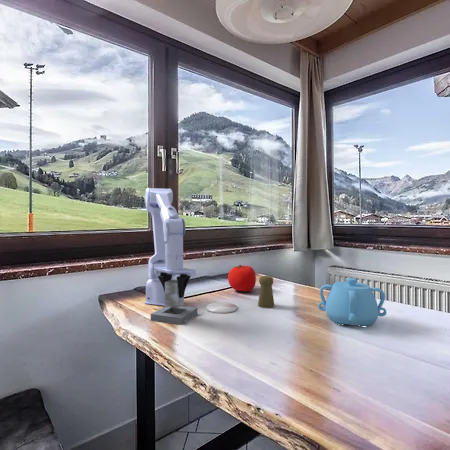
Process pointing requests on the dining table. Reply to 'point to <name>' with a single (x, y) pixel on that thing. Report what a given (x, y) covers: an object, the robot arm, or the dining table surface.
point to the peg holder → (166, 315)
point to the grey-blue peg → (172, 294)
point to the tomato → (242, 278)
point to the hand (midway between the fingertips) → (174, 296)
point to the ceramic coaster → (221, 307)
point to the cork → (266, 292)
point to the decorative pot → (352, 303)
